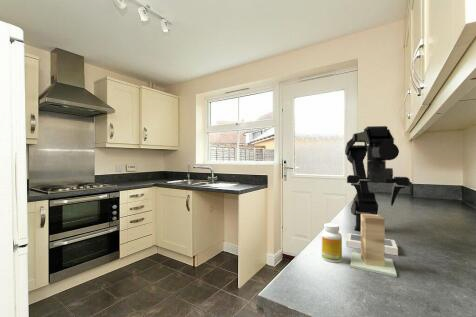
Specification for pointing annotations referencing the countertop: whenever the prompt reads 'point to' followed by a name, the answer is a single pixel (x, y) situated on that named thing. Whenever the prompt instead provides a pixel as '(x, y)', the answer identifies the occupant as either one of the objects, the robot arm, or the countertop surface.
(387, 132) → the robot arm
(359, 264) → the mat
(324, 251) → the supplement bottle
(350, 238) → the label panel
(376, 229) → the oak post
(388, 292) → the countertop surface
